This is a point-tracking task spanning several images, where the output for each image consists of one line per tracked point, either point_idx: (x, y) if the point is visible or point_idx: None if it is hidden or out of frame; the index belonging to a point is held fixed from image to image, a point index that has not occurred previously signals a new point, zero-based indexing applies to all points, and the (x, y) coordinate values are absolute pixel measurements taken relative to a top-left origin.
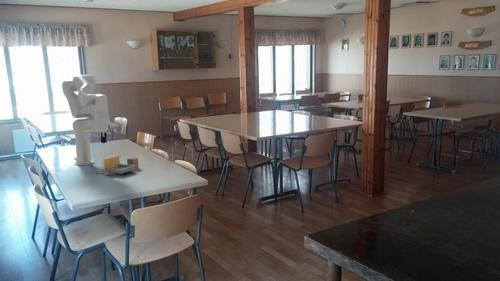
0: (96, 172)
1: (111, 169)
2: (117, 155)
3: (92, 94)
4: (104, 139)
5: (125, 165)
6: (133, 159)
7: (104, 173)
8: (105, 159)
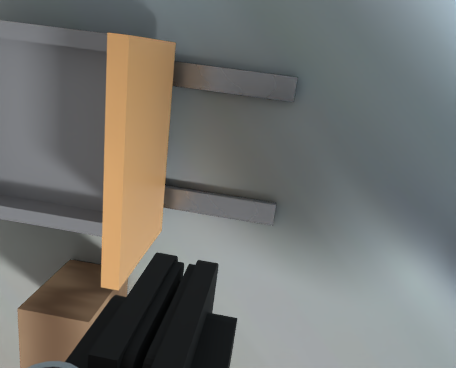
0: (295, 77)
1: (65, 28)
2: (111, 275)
3: None
4: (91, 326)
5: (58, 212)
6: (20, 312)
7: (195, 64)
8: (109, 52)
